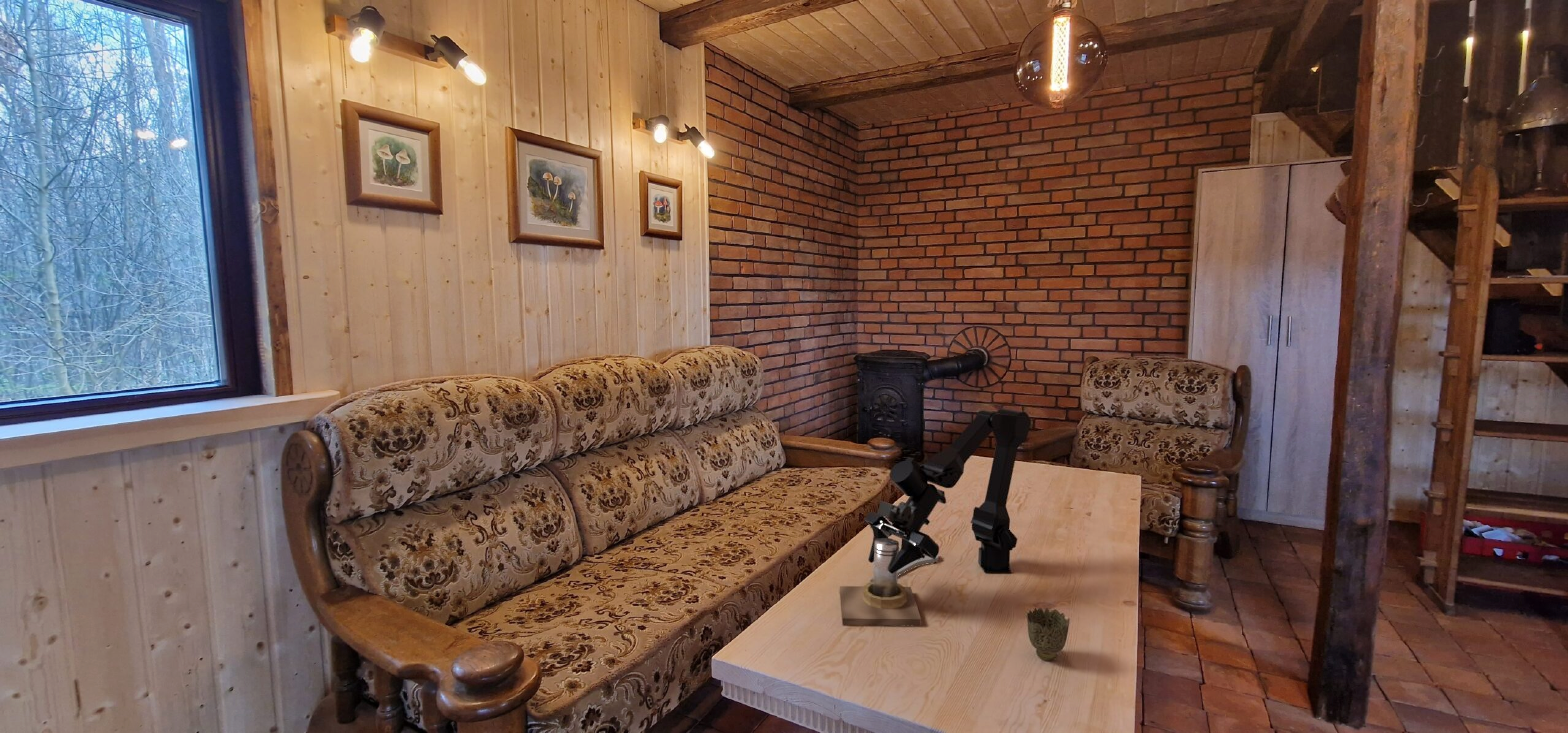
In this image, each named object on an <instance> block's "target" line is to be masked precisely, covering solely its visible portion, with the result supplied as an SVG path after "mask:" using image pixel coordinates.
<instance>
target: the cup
mask: <svg viewBox="0 0 1568 733" xmlns="http://www.w3.org/2000/svg"><path fill="white" fill-rule="evenodd" d="M1065 617H1066V615H1065V613H1064V612H1062V613H1060V611H1058V610H1057V609H1052V610H1050V609H1049V608H1048V607H1046V608H1045V609H1043V608H1042V607H1039V608H1036V607H1035V608H1034V609H1033V610H1031V609H1029V612H1026V623H1027V624H1026V625H1027V633H1028V638H1029V641H1030V644H1031V645H1032V647H1033V648H1034V649H1036V650H1035V652H1036V655H1037V657H1038V658H1039V659H1041V660H1043V661H1048V662H1049V661H1055V660H1056V659H1057V656H1058V653H1059V652H1061V651H1062V650H1063V649H1064V647H1065V646H1066V642H1067V639H1068V634H1069V627H1070V620H1071V619H1070V618H1069V617H1068V618H1067V619H1066V618H1065Z"/></svg>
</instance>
